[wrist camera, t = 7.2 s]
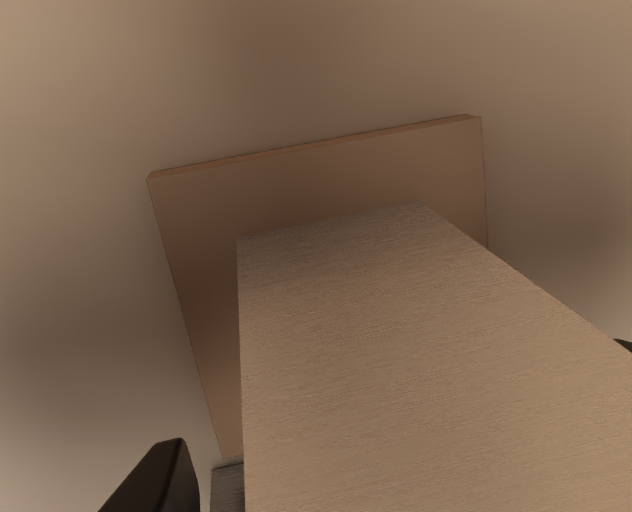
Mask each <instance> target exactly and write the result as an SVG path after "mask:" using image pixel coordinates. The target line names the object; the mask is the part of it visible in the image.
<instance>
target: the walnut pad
mask: <svg viewBox="0 0 632 512" xmlns="http://www.w3.org/2000/svg"><path fill="white" fill-rule="evenodd" d="M146 181H147V185H148V188H149V192H150V196H151V199H152V203H153V207H154V210H155V214H156V218H157V221H158V225H159V228H160V232H161V236H162V239H163V243H164V247H165V250H166V254H167V258H168V261H169V265H170V269H171V272H172V276H173V279H174V283H175V287H176V290H177V294H178V298H179V301H180V305H181V309H182V312H183V316H184V320H185V323H186V327H187V331H188V334H189V338H190V341H191V345H192V349H193V352H194V356H195V360H196V363H197V367H198V371H199V374H200V378H201V382H202V385H203V389H204V392H205V396H206V400H207V403H208V407H209V411H210V414H211V418H212V422H213V425H214V429H215V433H216V436H217V440H218V444H219V447H220V451H221V454H222V458H223V459H226V458H231V457H235V456H239V455H243V454H244V453H243V423H242V393H241V363H240V332H239V302H238V272H237V242H236V238H237V237H242V236H247V235H252V234H257V233H262V232H266V231H271V230H276V229H281V228H286V227H291V226H296V225H301V224H305V223H310V222H315V221H320V220H325V219H330V218H335V217H340V216H344V215H349V214H354V213H359V212H364V211H369V210H374V209H378V208H383V207H388V206H393V205H398V204H403V203H408V202H413V201H417V200H419V201H420V202H421V203H423V204H424V205H426V206H427V207H428V208H430V209H431V210H433V211H434V212H435V213H437V214H438V215H440V216H441V217H442V218H444V219H445V220H447V221H448V222H449V223H451V224H452V225H454V226H455V227H456V228H458V229H459V230H461V231H462V232H463V233H465V234H466V235H468V236H469V237H470V238H472V239H473V240H475V241H476V242H477V243H479V244H480V245H482V246H483V247H484V248H486V249H487V250H488V242H487V222H486V203H485V183H484V164H483V144H482V125H481V117H477V116H472V115H467V114H464V115H458V116H453V117H448V118H442V119H437V120H432V121H426V122H421V123H415V124H410V125H405V126H399V127H394V128H388V129H383V130H378V131H372V132H367V133H361V134H356V135H351V136H345V137H340V138H334V139H329V140H324V141H318V142H313V143H307V144H302V145H297V146H291V147H286V148H280V149H275V150H270V151H264V152H259V153H253V154H248V155H243V156H237V157H232V158H226V159H221V160H216V161H210V162H205V163H199V164H194V165H189V166H183V167H178V168H172V169H167V170H162V171H156V172H152V173H151V174H150V175H149V177H148V178H147V179H146Z"/></svg>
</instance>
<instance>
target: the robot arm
mask: <svg viewBox="0 0 632 512" xmlns="http://www.w3.org/2000/svg"><path fill="white" fill-rule="evenodd" d="M613 340H614V341H616V342H617V343H619V344H620V345H621V346H623V347H624V348H626V349H627V350H628V351H630V352H631V353H632V342H628V341H624V340H620V339H613ZM98 512H200V494H199V486H198V481H197V477H196V474H195V471H194V467H193V464H192V461H191V457H190V454H189V451H188V447H187V444H186V442H185V441H184V440H183V439H182V438H175V439H171V440H166V441H162V442H158V443H156V444H155V445H153V446H152V448H151V449H150V450H149V451H148V452H147V454H146V455H145V456H144V457H143V458H142V459H141V461H140V462H139V463H138V464H137V465H136V467H135V468H134V469H133V470H132V471H131V473H130V474H129V475H128V476H127V477H126V479H125V480H124V481H123V482H122V483H121V484H120V486H119V487H118V488H117V489H116V490H115V492H114V493H113V494H112V495H111V496H110V498H109V499H108V500H107V501H106V502H105V503H104V505H103V506H102V507H101V508H100V509H99V511H98Z"/></svg>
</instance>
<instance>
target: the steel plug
mask: <svg viewBox="0 0 632 512" xmlns="http://www.w3.org/2000/svg"><path fill="white" fill-rule="evenodd" d="M236 242H237V272H238V302H239V332H240V363H241V393H242V423H243V453H244V484H245V512H632V353H631V352H630V351H628V350H627V349H626V348H624V347H623V346H621V345H620V344H619V343H617V342H616V341H614V340H613V339H612V338H610V337H609V336H607V335H606V334H605V333H603V332H602V331H600V330H599V329H598V328H596V327H595V326H593V325H592V324H591V323H589V322H588V321H586V320H585V319H584V318H582V317H581V316H579V315H578V314H577V313H575V312H574V311H572V310H571V309H570V308H568V307H567V306H565V305H564V304H563V303H561V302H560V301H558V300H557V299H556V298H554V297H553V296H551V295H550V294H549V293H547V292H546V291H544V290H543V289H542V288H540V287H539V286H537V285H536V284H535V283H533V282H532V281H530V280H529V279H528V278H526V277H525V276H524V275H522V274H521V273H519V272H518V271H517V270H515V269H514V268H512V267H511V266H510V265H508V264H507V263H505V262H504V261H503V260H501V259H500V258H498V257H497V256H496V255H494V254H493V253H491V252H490V251H489V250H487V249H486V248H484V247H483V246H482V245H480V244H479V243H477V242H476V241H475V240H473V239H472V238H470V237H469V236H468V235H466V234H465V233H463V232H462V231H461V230H459V229H458V228H456V227H455V226H454V225H452V224H451V223H449V222H448V221H447V220H445V219H444V218H442V217H441V216H440V215H438V214H437V213H435V212H434V211H433V210H431V209H430V208H428V207H427V206H426V205H424V204H423V203H421V202H420V201H419V200H417V201H413V202H408V203H403V204H398V205H393V206H388V207H383V208H378V209H374V210H369V211H364V212H359V213H354V214H349V215H344V216H340V217H335V218H330V219H325V220H320V221H315V222H310V223H305V224H301V225H296V226H291V227H286V228H281V229H276V230H271V231H266V232H262V233H257V234H252V235H247V236H242V237H237V238H236Z"/></svg>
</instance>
